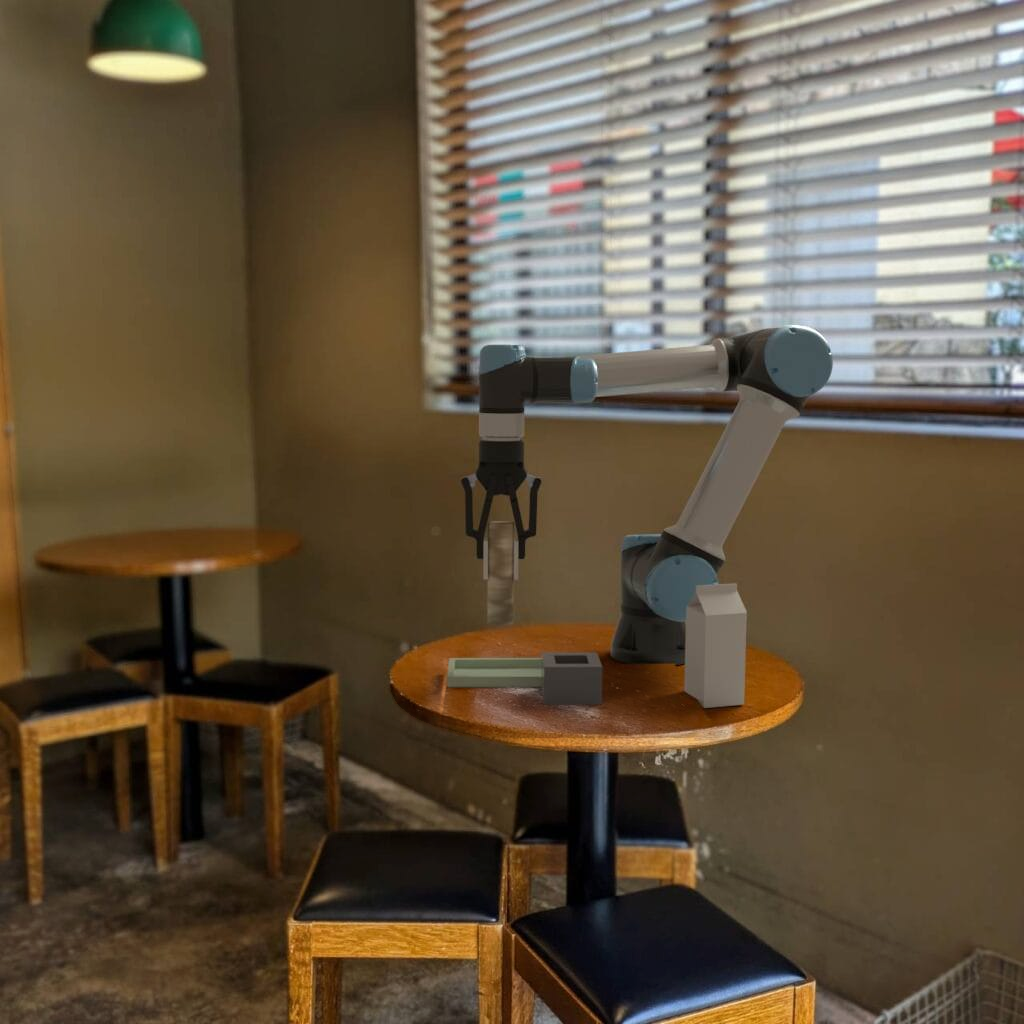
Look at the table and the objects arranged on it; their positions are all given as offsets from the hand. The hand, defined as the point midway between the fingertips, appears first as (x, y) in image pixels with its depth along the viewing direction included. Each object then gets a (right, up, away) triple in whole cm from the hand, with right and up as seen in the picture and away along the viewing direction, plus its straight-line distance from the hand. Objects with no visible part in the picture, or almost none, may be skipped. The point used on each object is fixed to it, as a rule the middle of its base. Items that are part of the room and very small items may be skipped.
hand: (500, 577), depth 185 cm
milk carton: (+34, -20, -8) cm, 40 cm away
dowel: (0, -8, +1) cm, 8 cm away
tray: (0, -18, +2) cm, 18 cm away
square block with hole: (+11, -19, -9) cm, 24 cm away
